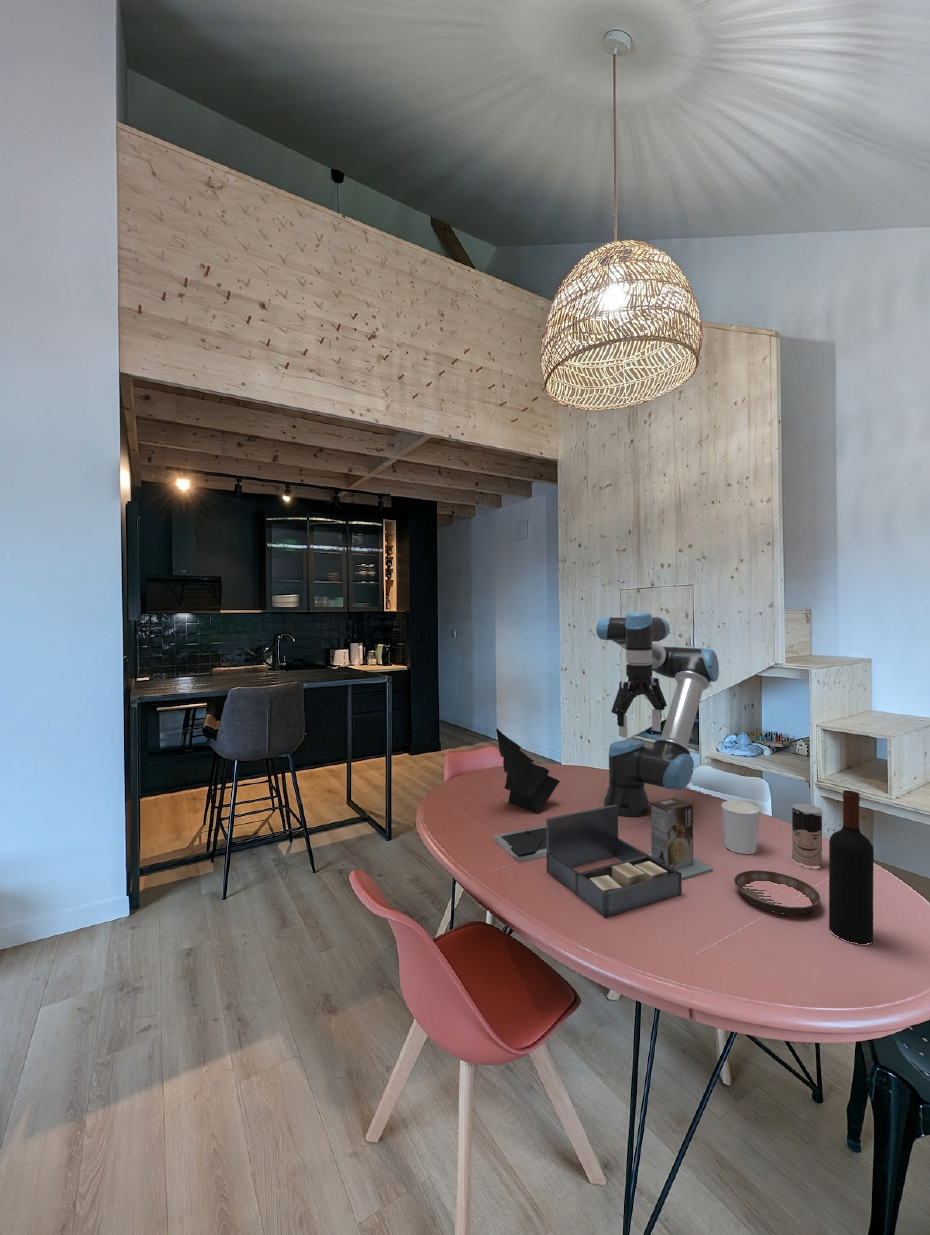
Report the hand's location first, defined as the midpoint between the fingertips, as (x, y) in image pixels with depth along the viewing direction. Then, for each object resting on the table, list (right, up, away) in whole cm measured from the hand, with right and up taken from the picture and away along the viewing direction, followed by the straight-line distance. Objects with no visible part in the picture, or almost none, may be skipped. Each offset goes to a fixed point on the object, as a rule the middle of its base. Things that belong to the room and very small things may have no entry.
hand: (640, 733), depth 162 cm
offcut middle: (-13, -32, -33) cm, 47 cm away
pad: (+3, -31, -18) cm, 36 cm away
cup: (+39, -31, -18) cm, 53 cm away
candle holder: (+26, -31, -8) cm, 41 cm away
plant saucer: (+21, -32, -35) cm, 52 cm away
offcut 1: (-20, -32, -36) cm, 52 cm away
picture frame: (-32, -32, -5) cm, 45 cm away
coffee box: (+3, -31, -18) cm, 36 cm away
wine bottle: (+28, -32, -49) cm, 65 cm away
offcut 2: (-7, -32, -30) cm, 44 cm away
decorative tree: (-33, -31, +24) cm, 51 cm away
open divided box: (-16, -32, -27) cm, 44 cm away
